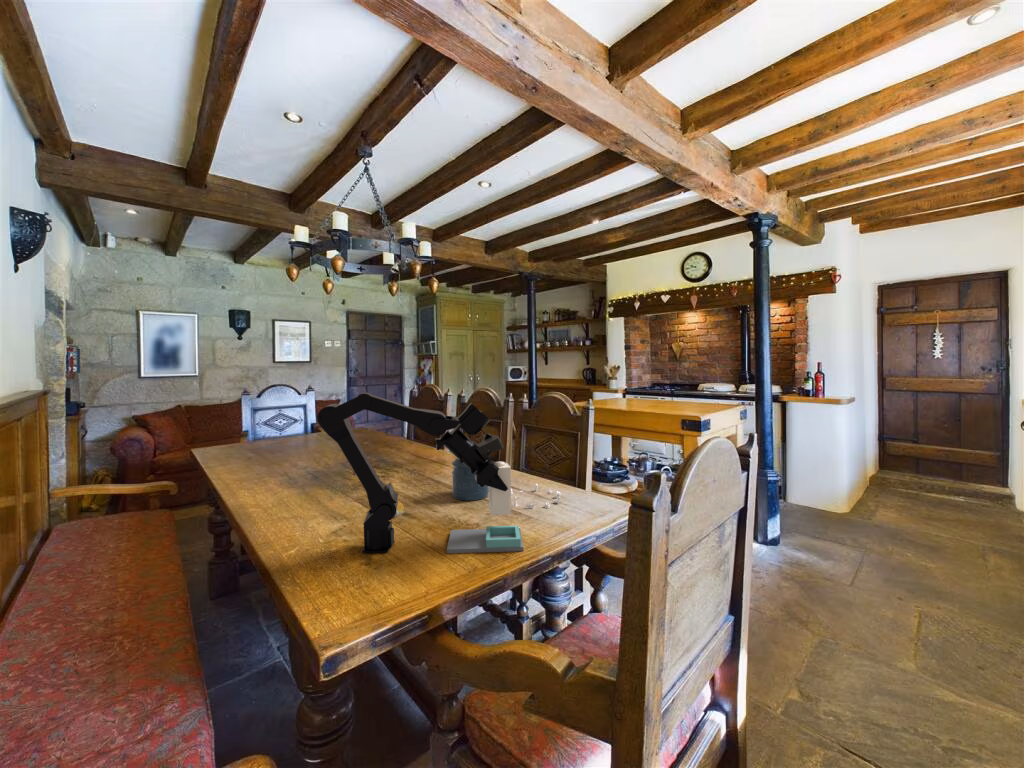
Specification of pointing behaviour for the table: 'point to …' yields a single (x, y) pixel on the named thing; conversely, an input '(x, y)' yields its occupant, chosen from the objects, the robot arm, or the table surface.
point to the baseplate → (485, 540)
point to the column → (501, 492)
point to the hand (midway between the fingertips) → (504, 486)
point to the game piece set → (534, 500)
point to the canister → (466, 483)
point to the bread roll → (399, 509)
